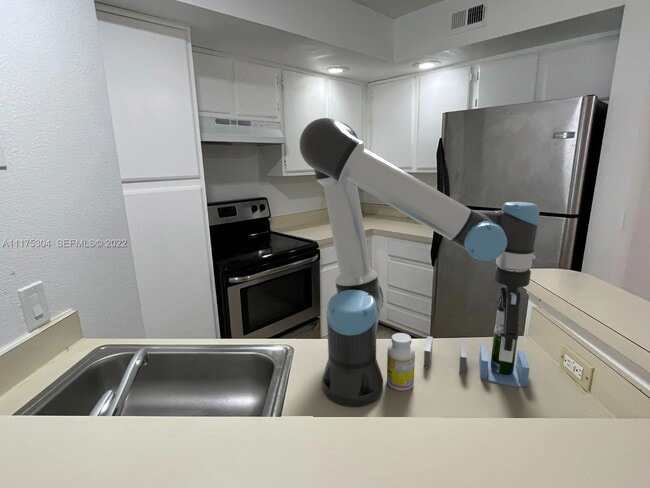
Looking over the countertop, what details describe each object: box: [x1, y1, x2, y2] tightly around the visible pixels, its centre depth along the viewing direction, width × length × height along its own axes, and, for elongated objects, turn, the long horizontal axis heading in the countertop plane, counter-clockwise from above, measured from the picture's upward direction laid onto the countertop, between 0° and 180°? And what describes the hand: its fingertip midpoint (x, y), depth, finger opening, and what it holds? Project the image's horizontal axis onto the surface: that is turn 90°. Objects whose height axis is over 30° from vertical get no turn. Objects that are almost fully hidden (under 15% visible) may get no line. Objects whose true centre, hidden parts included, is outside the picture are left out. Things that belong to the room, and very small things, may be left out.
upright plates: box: [423, 336, 531, 387], centre depth 92 cm, size 24×8×5 cm, turn 68°
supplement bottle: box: [386, 332, 416, 392], centre depth 85 cm, size 7×7×13 cm
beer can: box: [490, 325, 518, 377], centre depth 88 cm, size 5×5×12 cm
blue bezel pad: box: [487, 358, 520, 388], centre depth 90 cm, size 7×10×1 cm
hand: (502, 346), depth 88 cm, fingers open, 13 cm apart
